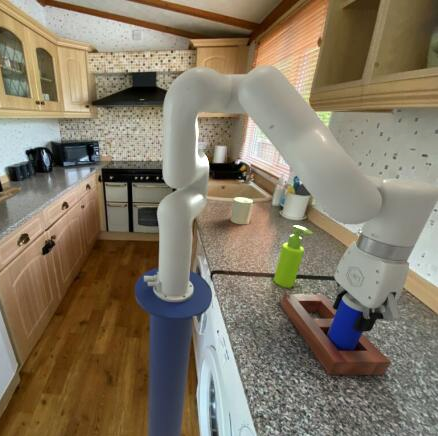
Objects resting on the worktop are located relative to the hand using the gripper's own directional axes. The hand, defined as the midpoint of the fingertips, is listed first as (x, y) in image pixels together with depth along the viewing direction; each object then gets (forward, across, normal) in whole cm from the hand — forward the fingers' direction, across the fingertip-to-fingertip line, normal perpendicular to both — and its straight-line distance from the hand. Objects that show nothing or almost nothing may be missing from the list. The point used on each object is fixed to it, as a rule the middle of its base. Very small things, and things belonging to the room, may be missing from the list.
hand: (350, 318), depth 52 cm
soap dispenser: (+10, -25, +1) cm, 27 cm away
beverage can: (+10, 0, 0) cm, 10 cm away
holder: (+10, -4, 0) cm, 11 cm away
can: (+10, -76, +4) cm, 77 cm away
